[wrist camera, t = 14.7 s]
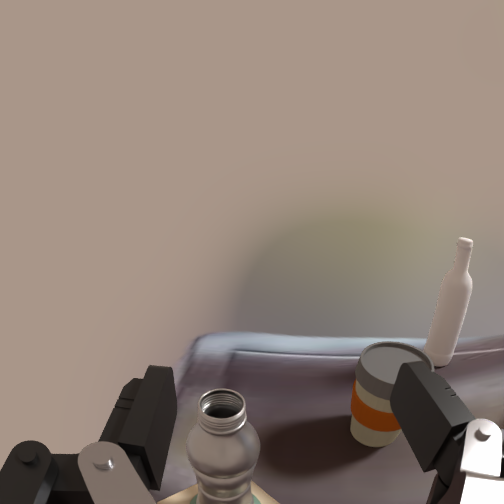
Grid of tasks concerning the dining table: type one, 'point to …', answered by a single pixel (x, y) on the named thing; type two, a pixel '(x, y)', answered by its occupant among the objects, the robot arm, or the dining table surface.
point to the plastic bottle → (223, 449)
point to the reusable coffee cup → (379, 391)
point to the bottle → (450, 307)
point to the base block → (187, 498)
